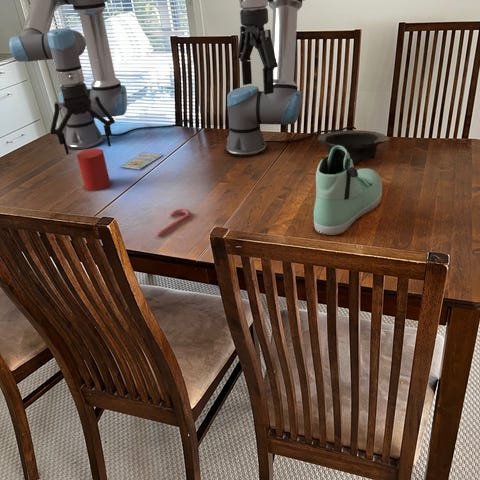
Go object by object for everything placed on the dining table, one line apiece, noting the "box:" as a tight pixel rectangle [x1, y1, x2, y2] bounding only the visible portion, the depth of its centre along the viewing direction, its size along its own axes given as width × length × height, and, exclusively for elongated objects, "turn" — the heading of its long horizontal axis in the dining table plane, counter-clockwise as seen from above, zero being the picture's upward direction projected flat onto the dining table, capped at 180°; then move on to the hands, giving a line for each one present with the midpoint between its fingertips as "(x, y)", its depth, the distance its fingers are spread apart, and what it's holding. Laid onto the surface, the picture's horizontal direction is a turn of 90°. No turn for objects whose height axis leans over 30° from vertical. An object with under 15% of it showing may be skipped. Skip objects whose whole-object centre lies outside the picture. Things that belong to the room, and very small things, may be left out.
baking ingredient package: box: [119, 152, 162, 170], centre depth 182 cm, size 9×1×15 cm
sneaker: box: [313, 146, 383, 236], centre depth 133 cm, size 14×35×20 cm, turn 152°
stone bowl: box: [316, 129, 390, 165], centre depth 170 cm, size 25×25×9 cm
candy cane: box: [156, 208, 192, 238], centre depth 138 cm, size 6×15×2 cm, turn 145°
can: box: [76, 148, 111, 192], centre depth 163 cm, size 9×9×12 cm
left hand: (88, 149), depth 159 cm, fingers open, 13 cm apart
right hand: (257, 88), depth 140 cm, fingers open, 13 cm apart
